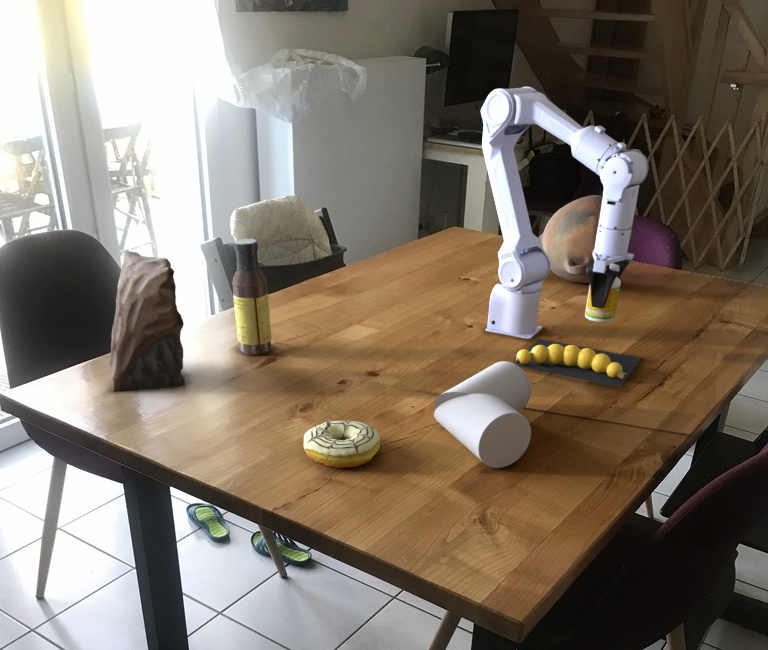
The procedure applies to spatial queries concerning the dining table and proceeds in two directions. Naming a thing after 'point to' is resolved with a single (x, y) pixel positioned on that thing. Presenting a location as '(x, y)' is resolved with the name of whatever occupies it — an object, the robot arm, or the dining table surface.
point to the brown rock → (146, 326)
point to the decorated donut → (342, 443)
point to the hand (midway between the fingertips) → (601, 303)
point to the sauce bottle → (251, 300)
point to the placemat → (584, 374)
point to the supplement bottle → (611, 303)
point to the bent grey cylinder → (489, 413)
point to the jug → (573, 238)
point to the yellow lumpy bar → (571, 358)
